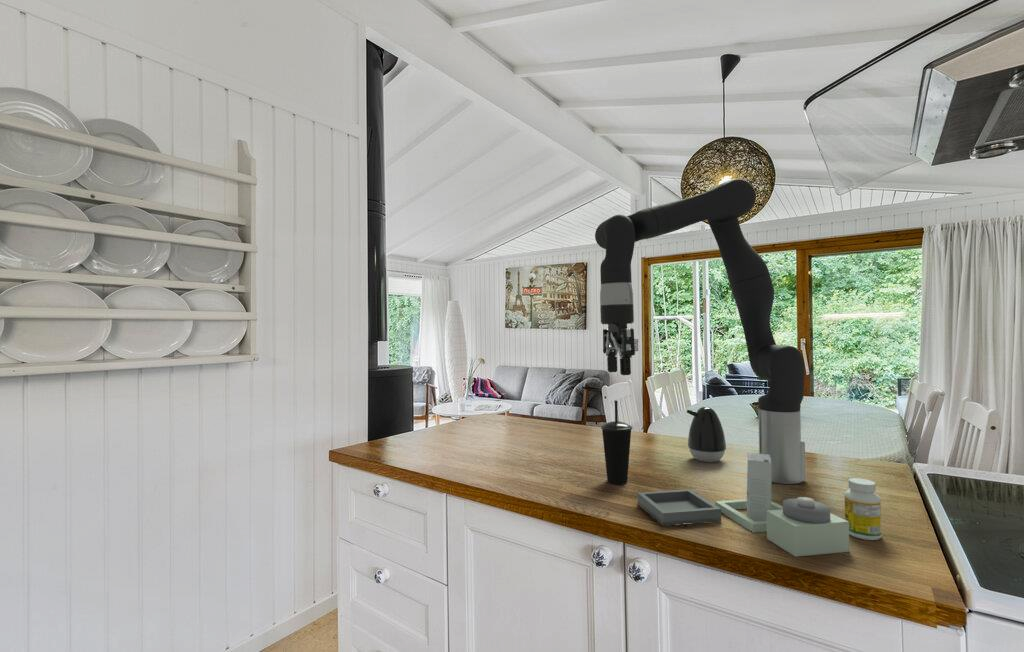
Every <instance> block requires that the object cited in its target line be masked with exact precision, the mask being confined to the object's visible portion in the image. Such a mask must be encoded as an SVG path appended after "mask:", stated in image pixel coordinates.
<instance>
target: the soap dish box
mask: <svg viewBox="0 0 1024 652" xmlns="http://www.w3.org/2000/svg"><path fill="white" fill-rule="evenodd" d="M714 505H716V506H717V507H719V508H720V509H721V514H723V515H725V516H726V517H728V518H730V519H731V520H732V521H734V522H736V523H737V524H739V525H740V524H741V525H740V526H742V527H743V528H745V529H747V530H748V529H749V530H748V531H750V532H751V531H752V532H751V533H754V532H755V533H765V532H766V539H767V540H768V541H770V542H771V543H773V544H774V545H776V546H778V547H779V548H781V549H782V550H784V551H786V552H787V553H789V554H790V555H792V556H794V557H796V558H797V557H804V556H805V557H806V556H816V555H817V556H818V555H827V554H839V553H848V552H850V534H849V522H848V521H846V520H845V518H841V517H839V516H838V515H835V514H833V513H832V512H831V507H829V506H828V505H827V504H824V503H823V502H819V501H817V500H816V501H815V499H813V498H811V497H806V496H799V497H797V498H786V499H783V501H782V505H780V504H778V503H776V502H775V501H772V500H771V510H768V511H766V519H767V521H753V520H752V519H750V518H748V517H747V515H744V514H743V513H741V512H740V511H738V510H742V509H743V510H745V509H746V508H747V498H743V499H729V500H728V499H727V500H716V501H715V504H714ZM746 510H747V509H746Z"/></svg>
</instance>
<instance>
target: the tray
mask: <svg viewBox="0 0 1024 652" xmlns="http://www.w3.org/2000/svg"><path fill="white" fill-rule="evenodd" d="M637 505H638V506H639V507H640V508H641V507H642V508H643V511H645V513H647V512H648V513H649V514H650V515H649V514H648V513H647V514H648V515H649V516H650V517H651V518H653V519H654V520H655V519H656V520H657V523H659V524H660V525H661V524H662V525H663V526H662V525H661V526H662V527H669V526H668V525H675V526H677V525H676V524H683V523H700V524H709V523H708V522H713V523H720V522H721V523H722V512H721V509H720V508H719V507H717V506H716V505H715V504H714V503H712V502H711V501H709V500H708V499H706V498H705V497H703V496H701V495H699V494H698V493H696V492H695V491H693V490H691V489H690V488H688V489H687V488H686V489H676V490H675V489H674V490H661V491H660V490H659V491H646V492H645V491H642V492H637ZM642 508H641V509H642ZM705 522H706V523H705Z"/></svg>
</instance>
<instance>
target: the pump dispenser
mask: <svg viewBox="0 0 1024 652" xmlns="http://www.w3.org/2000/svg"><path fill="white" fill-rule="evenodd" d="M686 413H687V414H689V415H691V416H693V418H692V420H691V424H690V425H689V430H688V436H687V437H688V438H687V447H688V449H689V452H690V454H691V456H692V457H693V458H694V459H695V460H697V461H700V462H702V461H704V462H703V463H716V462H718V461H721V459H722V458H723V457H724V455H725V451H726V450H727V441H726V436H725V432H724V431H725V430H724V427H723V425H722V422H721V420H720V418H719V416H718V414H717V413H716V411H715V410H714V409H713V408H711V407H710V406H703V407H699V408H698V410H697V411H695V410H691V409H687V410H686Z"/></svg>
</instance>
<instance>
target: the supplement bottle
mask: <svg viewBox="0 0 1024 652" xmlns="http://www.w3.org/2000/svg"><path fill="white" fill-rule="evenodd" d="M876 484H877V483H876V482H875V481H873V480H870V479H865V478H859V477H857V478H856V477H853V478H849V479H848V485H847V486H848V488H849V489H847V490H846V491H845V492H844V495H843V496H844V520H846V521H848V522H849V536H852V537H854V538H857V539H861V540H865V541H866V540H867V541H877V540H880V539H881V538H882V502H881V497H880V496H879V495H878V494H877V493H875V492H876V490H877V488H876V487H877V486H876Z"/></svg>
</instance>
